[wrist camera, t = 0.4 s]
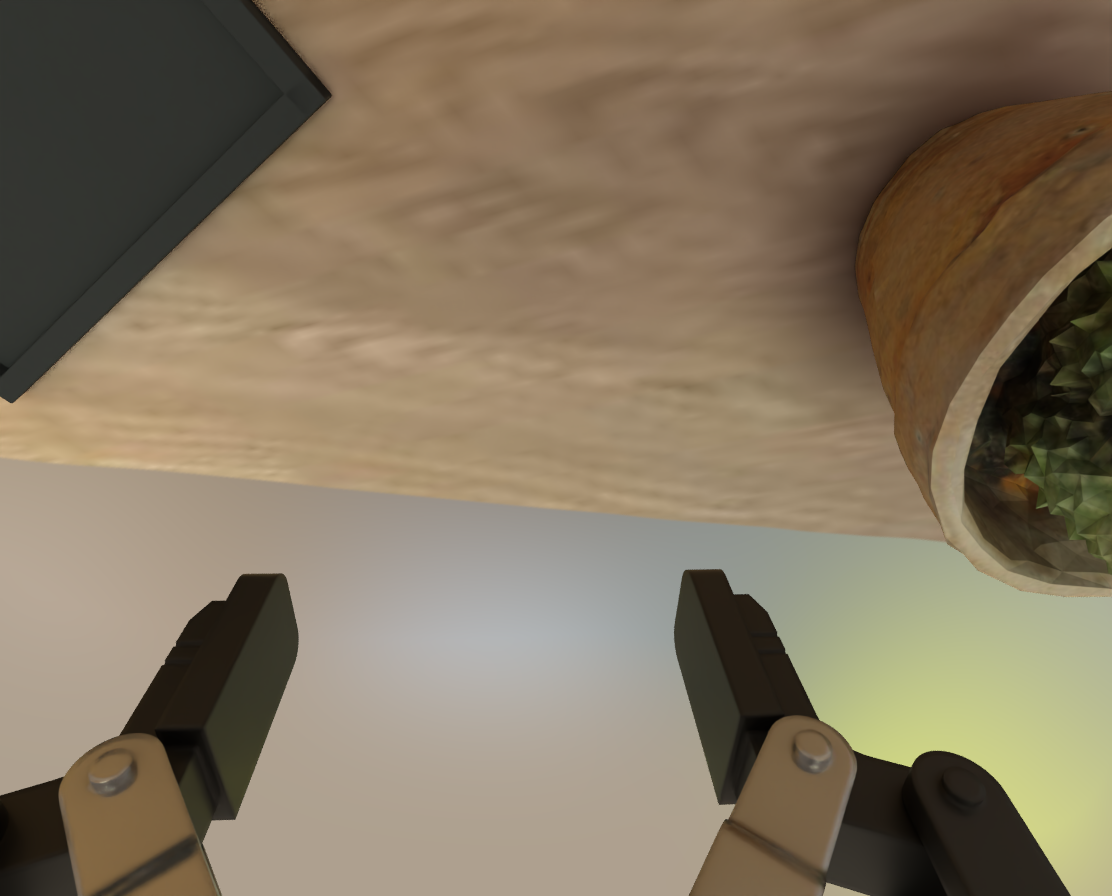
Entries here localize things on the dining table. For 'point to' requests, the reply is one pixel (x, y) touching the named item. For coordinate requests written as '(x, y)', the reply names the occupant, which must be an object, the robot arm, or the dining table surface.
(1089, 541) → the potted plant
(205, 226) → the dining table surface
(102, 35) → the tray
